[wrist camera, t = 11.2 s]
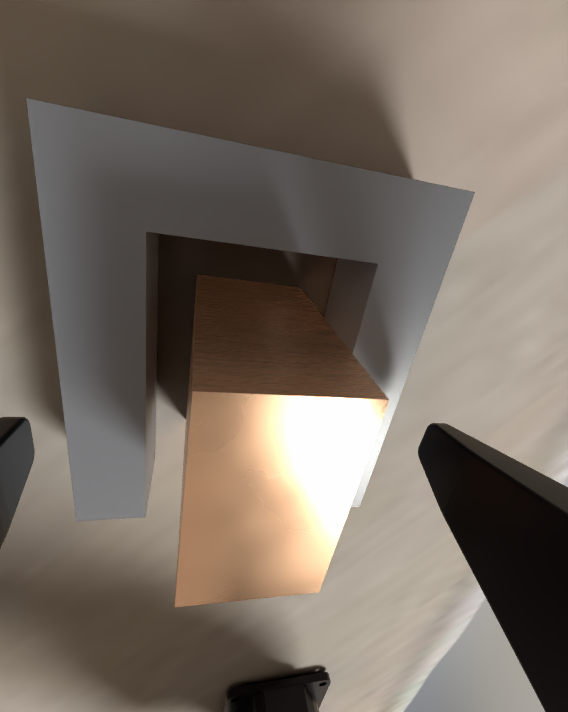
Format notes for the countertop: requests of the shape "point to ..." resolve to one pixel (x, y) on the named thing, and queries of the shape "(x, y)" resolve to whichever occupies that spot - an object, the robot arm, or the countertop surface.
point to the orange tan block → (268, 443)
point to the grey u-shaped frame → (223, 224)
